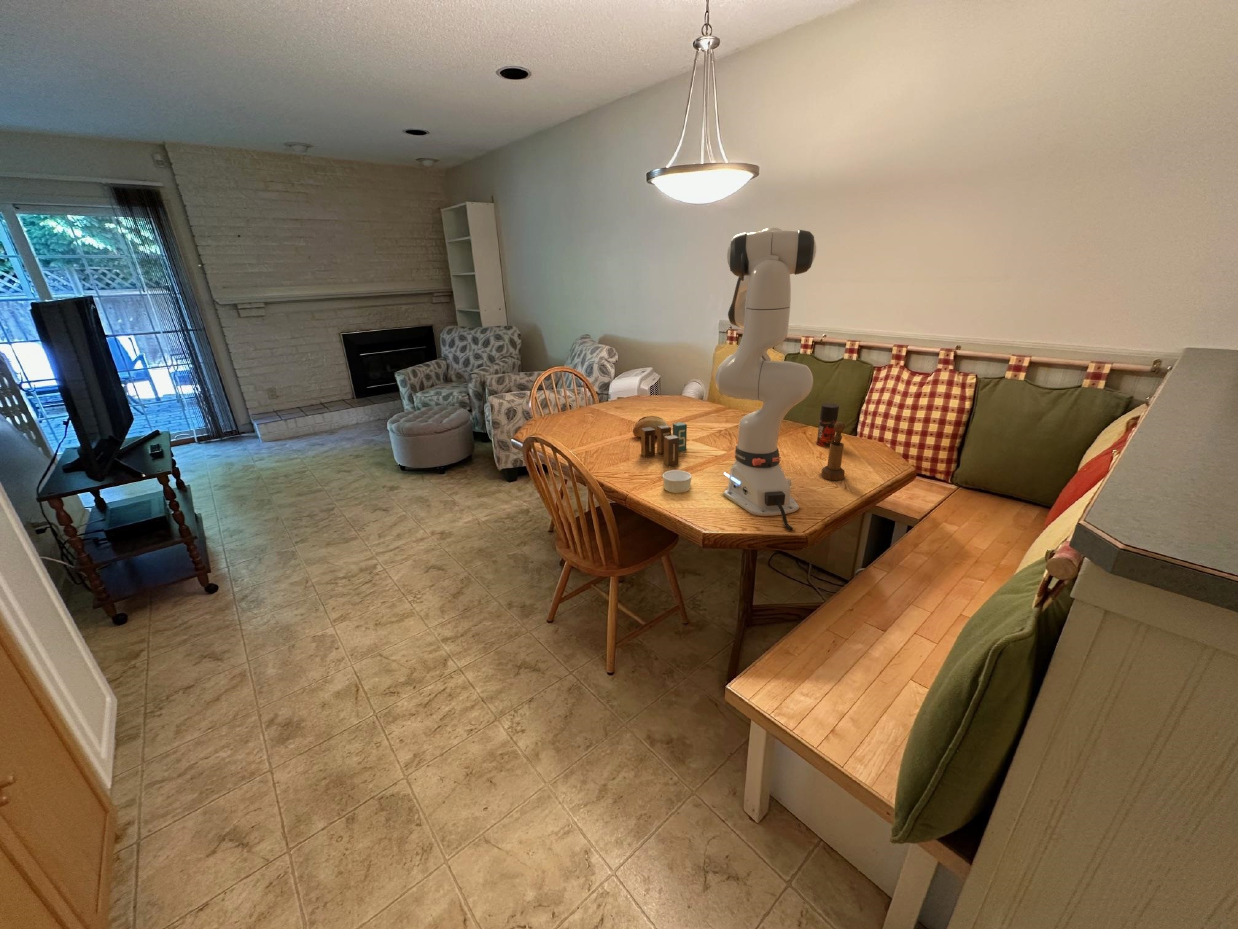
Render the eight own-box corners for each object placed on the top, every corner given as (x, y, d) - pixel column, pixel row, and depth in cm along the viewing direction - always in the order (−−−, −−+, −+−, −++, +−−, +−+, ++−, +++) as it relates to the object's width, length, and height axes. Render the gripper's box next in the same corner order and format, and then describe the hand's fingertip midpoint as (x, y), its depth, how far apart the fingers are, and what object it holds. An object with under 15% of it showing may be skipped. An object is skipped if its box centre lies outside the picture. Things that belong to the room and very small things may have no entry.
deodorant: (813, 444, 180) (818, 405, 175) (821, 440, 184) (826, 402, 178) (828, 447, 176) (834, 408, 171) (836, 444, 180) (842, 405, 174)
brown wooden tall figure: (836, 472, 155) (843, 418, 148) (848, 479, 149) (856, 424, 142) (817, 473, 154) (824, 420, 147) (828, 481, 148) (836, 426, 141)
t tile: (666, 450, 179) (666, 424, 176) (671, 453, 176) (671, 427, 173) (657, 451, 178) (656, 426, 174) (661, 454, 175) (661, 428, 171)
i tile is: (673, 461, 168) (674, 434, 164) (678, 465, 165) (679, 437, 161) (663, 463, 167) (663, 436, 163) (668, 467, 163) (668, 439, 160)
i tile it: (650, 452, 177) (650, 426, 174) (655, 455, 174) (655, 429, 170) (641, 454, 176) (640, 428, 172) (645, 457, 173) (644, 431, 169)
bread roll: (631, 433, 199) (630, 415, 196) (666, 431, 201) (666, 412, 198) (634, 440, 190) (634, 421, 188) (671, 438, 192) (671, 419, 189)
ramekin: (656, 488, 148) (656, 475, 146) (676, 480, 153) (676, 467, 151) (677, 496, 141) (677, 483, 140) (697, 488, 147) (697, 475, 145)
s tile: (681, 447, 182) (682, 422, 178) (686, 450, 179) (687, 424, 175) (672, 448, 180) (672, 423, 177) (677, 451, 177) (677, 426, 174)
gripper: (727, 348, 177) (705, 376, 176) (764, 347, 159) (740, 378, 158) (737, 359, 180) (715, 387, 179) (774, 359, 162) (750, 391, 160)
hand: (727, 383), depth 168 cm, fingers open, 8 cm apart
